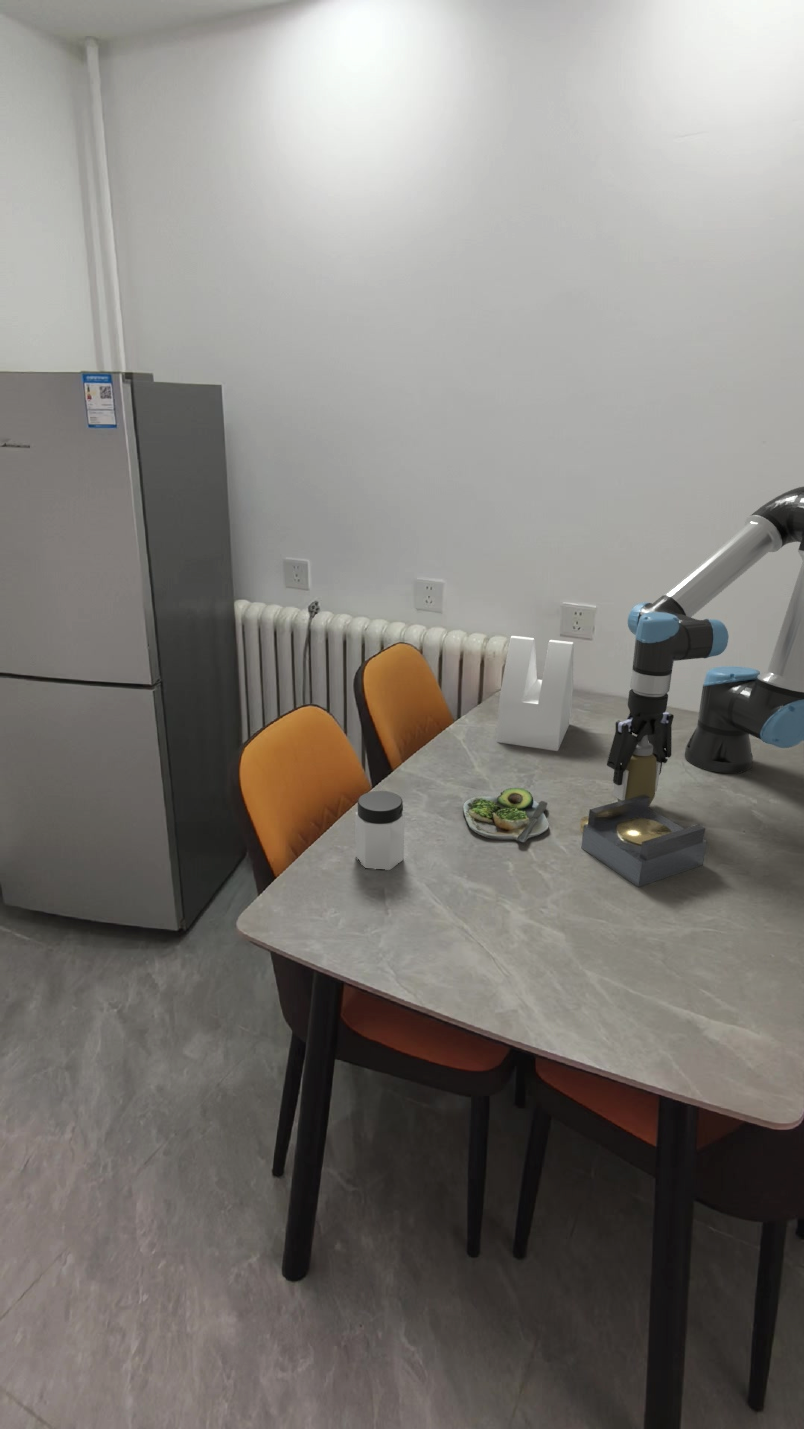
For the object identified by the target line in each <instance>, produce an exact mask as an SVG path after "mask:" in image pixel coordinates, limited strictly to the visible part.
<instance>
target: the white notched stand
mask: <svg viewBox="0 0 804 1429" xmlns="http://www.w3.org/2000/svg"><path fill="white" fill-rule="evenodd" d="M508 644H509V645H508V649H507V654H506V658H505V659H506V660H505V666H504V670H503V671H504V672H503V675H502V680H501V681H502V682H501V688H500V693H499V697H498V709H497V710H498V713H497V724H496V726H497V727H496V741H495V742H496V743H501V744H508V745H516V746H522V747H528V748H533V749H540V750H541V749H543V750H548V751H554V752H555V751H556V752H559V749H560V747H561V744H562V743H563V739H564V738H565V735H566V732H567V731H568V729H569V726H570V723H571V722H570V720H571V714H572V713H571V711H572V700H573V692H574V691H573V690H574V648H575V647H574V641H564V640H558V639H557V640H556V639H550V640H549V641H548V644H547V648H546V649H547V651H546V655H545V656H546V657H545V662H544V668H543V674H542V679H538V676H537V675H538V674H537V673H538V672H537V656H536V654H537V653H536V638H535V637H528V636H519V635H511V636H510V638H509V643H508Z"/></svg>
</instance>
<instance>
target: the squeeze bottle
mask: <svg viewBox="0 0 804 1429" xmlns="http://www.w3.org/2000/svg"><path fill="white" fill-rule="evenodd" d="M652 752H653V745H652V744H650V743H649V742H648V735H645V736H643V738H642V740H641V741H640V742H638V744H637V746H636V748H635V750H634V753H633V755H632V757H631V759H630V761H629V763H628V766H627V768H626V770H627V771H629V772H628V780H627V787H626V795H625V800H626V799H630V798H633V797H637V796H640V795H644V794H645V795H647V796H648V797H650V803H649V807H650V806H651V804H652V803H653V801H654V798H655V797H656V792H655V785H656V757H655V756H654V755H653V754H652ZM621 765H622V763H621ZM616 800H617V802H619V801H622V800H620V799H618V798H617V799H616Z"/></svg>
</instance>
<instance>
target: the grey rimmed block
mask: <svg viewBox="0 0 804 1429" xmlns="http://www.w3.org/2000/svg"><path fill="white" fill-rule="evenodd" d="M649 803H650V797H648V796H647V795H645V794H644V795H640V796H637V797H633V798H630V799H626V800H622V801H619V802H618V801H615V802H612V803H608V804H604V805H601V806H598V807H594V808H593V807H592V808H590V809H589V812H588V816H589V819H588V824H585V825H584V828H583V834H582V838H581V846H580V847H581V849H582V850H584V851H585V852H586V853H588V854H590V855H591V856H592V857H594V858H595V859H597V860H598V861H599V862H601V863H602V864H604V865H605V866H606V867H608V868H610V869H611V870H612V871H614V872H615V873H617V874H618V875H620V876H621V877H623V879H625V880H627V881H628V882H629V883H631V884H633V885H634V886H635V887H638V888H640V887H642V886H645V885H646V886H647V885H649V884H651V883H654V882H658V881H661V880H663V879H666V878H669V877H672V876H675V875H677V874H680V873H683V872H687V871H689V870H692V869H696V868H698V867H701V866H703V864H704V859H705V852H706V848H707V840H705V834H706V833H705V832H706V827H705V826H703V825H701V824H698V823H697V824H696V825H692V826H689V827H686V828H684V827H683V826H681V825H679V824H677V823H676V822H673V821H672V820H670V819H668V818H666V817H664V815H662V814H660V813H658V812H656V811H655V810H652V809H650V806H649Z"/></svg>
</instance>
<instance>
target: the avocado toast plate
mask: <svg viewBox="0 0 804 1429" xmlns="http://www.w3.org/2000/svg"><path fill="white" fill-rule="evenodd" d="M547 807H548V803H547V802H546V801H544V800H541V801H539V802H538V801H536V800H534V797H533V795H532V794H531V792H530V791H528V790H527V789H525V788H520V787H510V788H506V789H504V790H503V791H501V792H500V795H498V796H474V797H471V798H469V799H467V800H466V801H465V802H464V803H463V805H462V814H463V815H464V817H465V820H466V823H467V824H468V826H469V828H470V829H471V830H472V831H473V832H474V833H476V834H478V835H480V836H482V837H483V838H484V837H485V838H486V839H487V838H488V839H491V840H496V841H497V840H499V841H509V840H511V841H516V842H518V843H526V841H527V840H528V839H530V838H533V837H537V836H539V835H541V834H543V833H545V832H547V830H548V829H549V826H550V824H549V821H548V819H547V817H546V814H545V813H544V812H545V810H546V809H547ZM476 820H477V821H479V822H483V823H489V824H492V825H494V826H496V829H497V830H498V831H497V832H491V831H487V830H485V829H484V828H482V827H481V826H479V824H477V821H476Z"/></svg>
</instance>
